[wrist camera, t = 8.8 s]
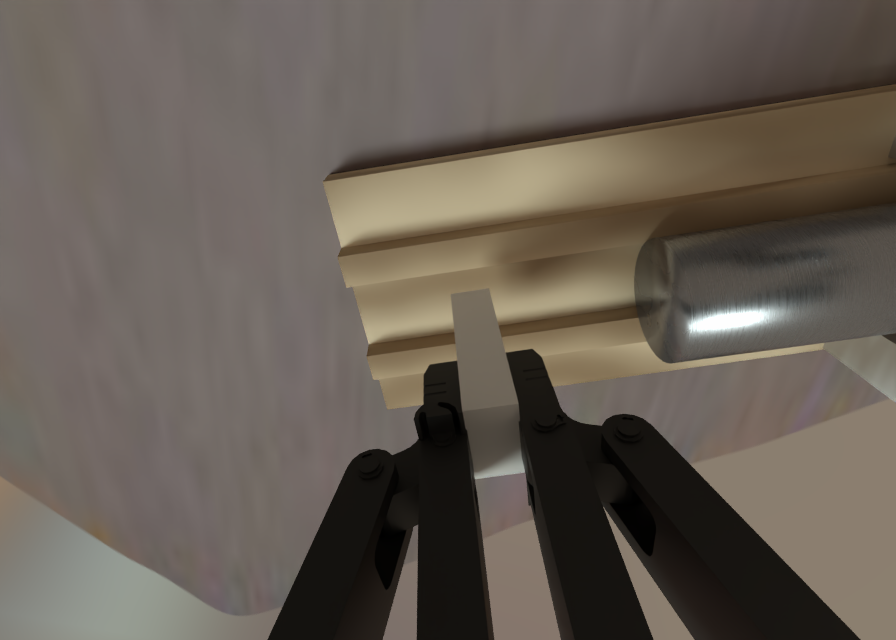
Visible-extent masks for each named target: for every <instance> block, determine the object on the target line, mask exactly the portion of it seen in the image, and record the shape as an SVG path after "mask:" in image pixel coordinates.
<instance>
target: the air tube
mask: <svg viewBox="0 0 896 640" xmlns="http://www.w3.org/2000/svg"><path fill="white" fill-rule="evenodd" d="M634 294H635V303H636V309H637V314H638V318H639V322H640V325H641V328H642V331H643V334H644V336H645V338H646V341H647V343H648V344H649V346H650V348H651V349H652V351H653V352H654V354H655V355H656V356H657V357H658V358H659V359H660V360H662V361H663V362H666V363H670V364H671V363H679V362H686V361H694V360H701V359H708V358H716V357H723V356H731V355H738V354H745V353H753V352H760V351H768V350H775V349H783V348H790V347H797V346H805V345H812V344H820V343H827V342H834V341H842V340H849V339H857V338H864V337H872V336H879V335H886V334H894V333H896V202H895V203H888V204H882V205H875V206H868V207H861V208H854V209H848V210H841V211H834V212H827V213H820V214H814V215H807V216H800V217H793V218H786V219H780V220H773V221H766V222H759V223H752V224H746V225H739V226H732V227H725V228H718V229H711V230H705V231H698V232H691V233H684V234H677V235H671V236H664V237H657V238H651V239H649V240H647V241H646V242H645V243H644V244H643V246H642V247H641V249H640V251H639V254H638V257H637V261H636V266H635V273H634Z"/></svg>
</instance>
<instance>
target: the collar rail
mask: <svg viewBox="0 0 896 640" xmlns="http://www.w3.org/2000/svg"><path fill="white" fill-rule="evenodd" d="M323 184H324V188H325V191H326V195H327V198H328V202H329V205H330V209H331V212H332V216H333V219H334V223H335V226H336V230H337V234H338V237H339V241H340V244H341V251H340V253H339V255H338V260H339V264H340V267H341V271H342V274H343V277H344V281H345V284H346V288H348V287H353V290H354V293H355V297H356V300H357V304H358V307H359V311H360V314H361V318H362V322H363V325H364V329H365V332H366V336H367V339H368V343H369V347H368V352H367V360H368V363H369V366H370V370H371V373H372V377H373V380H377V379H379V381H380V385H381V388H382V392H383V395H384V399H385V402H386V406H387V410H388V409H395V408H402V407H409V406H417V405H423V396H424V395H423V388H424V386H423V383H424V373H425V372H426V370H427V368H428V366H429V365H430V364H436V363H443V362H450V361H457V353H456V343H455V333H454V323H453V313H452V303H451V294H454V293H461V292H467V291H474V290H481V289H487V288H489V290H490V294H491V298H492V302H493V306H494V310H495V314H496V318H497V322H498V325H499V329H500V333H501V337H502V341H503V345H504V349H505V353H506V352H513V351H520V350H527V349H533V350H534V351H536V352H537V353H538V354H539V355H540V356H541V357H542V359H543V361H544V364H545V367H546V370H547V372H548V375H549V378H550V380H551V383H552V386H553V387H555V386H562V385H569V384H576V383H584V382H591V381H598V380H605V379H613V378H620V377H627V376H634V375H642V374H649V373H656V372H663V371H671V370H678V369H685V368H692V367H700V366H707V365H714V364H721V363H729V362H736V361H743V360H750V359H758V358H765V357H772V356H779V355H787V354H794V353H801V352H808V351H816V350H823V349H825V350H826V351H827V352H829V353H830V354H831V355H833V356H834V357H835V358H837V359H838V360H839V361H841V362H842V363H843V364H845V365H846V366H847V367H849V368H850V369H851V370H853V371H854V372H855V373H857V374H858V375H859V376H861V377H862V378H863V379H865V380H866V381H867V382H869V383H870V384H871V385H873V386H874V387H875V388H877V389H878V390H879V391H881V392H882V393H883V394H885V395H886V396H887V397H889V398H890V399H891V400H893V401H894V402H895V403H896V333H894V334H886V335H879V336H872V337H864V338H857V339H849V340H842V341H834V342H827V343H820V344H812V345H805V346H797V347H790V348H783V349H775V350H768V351H760V352H753V353H745V354H738V355H731V356H723V357H716V358H708V359H701V360H694V361H686V362H679V363H671V364H670V363H666V362H663V361H662V360H660V359H659V358H658V357H657V356H656V355H655V354H654V352H653V351H652V349H651V348H650V346H649V344H648V343H647V341H646V338H645V336H644V334H643V331H642V328H641V325H640V322H639V318H638V314H637V309H636V303H635V294H634V273H635V266H636V261H637V257H638V254H639V251H640V249H641V247H642V246H643V244H644V243H645V242H646V241H647V240H649V239H651V238H657V237H664V236H671V235H677V234H684V233H691V232H698V231H705V230H711V229H718V228H725V227H732V226H739V225H746V224H752V223H759V222H766V221H773V220H780V219H786V218H793V217H800V216H807V215H814V214H820V213H827V212H834V211H841V210H848V209H854V208H861V207H868V206H875V205H882V204H888V203H895V202H896V84H893V85H887V86H880V87H874V88H868V89H862V90H855V91H849V92H843V93H837V94H830V95H824V96H818V97H812V98H805V99H799V100H793V101H787V102H780V103H774V104H768V105H762V106H755V107H749V108H743V109H737V110H730V111H724V112H718V113H712V114H705V115H699V116H693V117H687V118H680V119H674V120H668V121H662V122H655V123H649V124H643V125H637V126H630V127H624V128H618V129H612V130H605V131H599V132H593V133H587V134H580V135H574V136H568V137H562V138H555V139H549V140H543V141H537V142H530V143H524V144H518V145H512V146H505V147H499V148H493V149H487V150H480V151H474V152H468V153H462V154H455V155H449V156H443V157H437V158H430V159H424V160H418V161H412V162H405V163H399V164H393V165H387V166H380V167H374V168H368V169H362V170H355V171H349V172H343V173H337V174H330V175H328V176H327V177H326V179H325V180H324V181H323Z"/></svg>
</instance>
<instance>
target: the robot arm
mask: <svg viewBox="0 0 896 640" xmlns="http://www.w3.org/2000/svg"><path fill="white" fill-rule="evenodd" d="M451 303H452V313H453V323H454V333H455V343H456V353H457V361H450V362H443V363H436V364H430V365H429V366H428V368H427V370H426V372H425V373H424V383H423V386H424V388H423V395H424V396H423V405H422V406H421V407H420V408H419V409H418V411H417V412H416V414H415V417H414V422H415V426H416V430H417V433H418V437H419V439H418V440H417V442H416V443H415V444H413V445H412V446H411V447H410V448H408V449H406V450H404V451H402V452H399V453H397V454H394V455H391V454H390V453H389V452H387V451H385V450H381V449H373V450H368V451H365V452H363V453H360V454H359V455H358V456H357V457H355V458H354V459H353V460H352V461H351V463H350V464H349V465H348V467H347V469H346V471H345V473H344V476H343V478H342V480H341V482H340V484H339V486H338V489H337V491H336V493H335V495H334V497H333V499H332V502H331V504H330V506H329V508H328V510H327V512H326V515H325V517H324V519H323V521H322V523H321V525H320V527H319V530H318V532H317V534H316V536H315V538H314V540H313V543H312V545H311V547H310V549H309V551H308V553H307V556H306V558H305V560H304V562H303V564H302V566H301V569H300V571H299V573H298V575H297V577H296V579H295V581H294V584H293V586H292V588H291V590H290V592H289V594H288V597H287V599H286V601H285V603H284V605H283V607H282V610H281V612H280V614H279V616H278V618H277V620H276V623H275V625H274V627H273V629H272V631H271V633H270V636H269V638H268V640H383V636H384V632H385V629H386V625H387V621H388V618H389V614H390V610H391V607H392V603H393V599H394V596H395V593H396V589H397V585H398V581H399V578H400V575H401V571H402V567H403V564H404V560H405V557H406V553H407V549H408V546H409V542H410V538H411V535H412V531H413V527H414V526H416V525H418V590H417V592H418V593H417V640H494V633H493V625H492V617H491V608H490V599H489V591H488V582H487V574H486V565H485V557H484V548H483V539H482V531H481V522H480V514H479V505H478V497H477V491H476V485H475V479H479V478H487V477H494V476H502V475H509V474H517V473H524V472H525V473H526V480H527V491H528V503H529V505H531V508H532V512H533V516H534V521H535V525H536V530H537V534H538V538H539V543H540V547H541V552H542V556H543V561H544V565H545V570H546V574H547V579H548V583H549V588H550V592H551V597H552V601H553V606H554V610H555V615H556V619H557V623H558V628H559V632H560V637H561V640H653V637H652V635H651V632H650V629H649V627H648V624H647V621H646V619H645V616H644V614H643V611H642V608H641V606H640V603H639V600H638V598H637V595H636V592H635V590H634V587H633V585H632V582H631V580H630V577H629V574H628V571H627V569H626V566H625V563H624V561H623V558H622V556H621V553H620V550H619V548H618V545H617V542H616V540H615V537H614V534H613V532H612V529H611V526H610V524H609V521H608V519H607V516H606V513H605V511H604V508H605V510H606V511H607V512H608V514H609V515H610V517H611V518H612V520H613V521H614V523H615V524H616V526H617V527H618V529H619V530H620V531H621V533H622V534H623V536H624V537H625V539H626V540H627V542H628V543H629V545H630V546H631V547H632V549H633V550H634V552H635V553H636V554H637V556H638V558H639V559H640V560H641V562H642V563H643V565H644V566H645V568H646V569H647V571H648V572H649V574H650V575H651V577H652V578H653V579H654V581H655V582H656V584H657V585H658V587H659V588H660V590H661V591H662V593H663V594H664V596H665V597H666V598H667V600H668V601H669V603H670V604H671V606H672V607H673V609H674V610H675V612H676V613H677V615H678V616H679V618H680V619H681V620H682V622H683V623H684V625H685V626H686V628H687V629H688V631H689V632H690V634H691V635H692V636H693V638H694V639H695V640H860V639H859V638H858V637H857V636H856V635H855V633H854V632H852V630H851V629H850V628H849V627H848V626H847V625H846V624H845V623H844V622H843V621H842V620H841V619H840V618H839V617H838V616H837V615H836V614H835V613H834V612H833V611H832V610H831V609H830V608H829V607H828V606H827V605H826V604H825V603H824V602H823V601H822V600H821V599H820V598H819V597H818V596H817V594H816V593H815V592H814V591H813V590H811V588H810V587H809V586H808V585H807V584H806V583H805V582H804V581H803V580H802V579H801V578H800V577H799V576H798V575H797V574H796V573H795V572H794V571H793V570H792V569H791V568H790V567H789V566H788V565H787V564H786V563H785V562H784V561H783V560H782V559H781V558H780V557H779V555H778V554H777V553H775V551H773V549H772V548H771V547H770V546H769V545H768V544H767V543H766V542H765V541H764V540H763V539H762V538H761V537H760V536H759V535H758V534H757V533H756V532H755V531H754V530H753V529H752V528H751V527H750V526H749V525H748V524H747V523H746V522H745V521H744V520H743V519H742V517H740V516H739V514H738V513H737V512H736V511H735V510H734V509H733V508H732V507H731V506H730V505H729V504H728V503H727V502H726V501H725V500H724V499H723V498H722V497H721V496H720V495H719V494H718V493H717V492H716V491H715V490H714V489H713V488H712V487H711V486H710V485H709V484H708V483H707V482H706V481H705V480H704V479H703V477H702V476H701V475H700V474H699V473H698V472H697V471H696V470H695V469H694V468H693V467H692V466H691V465H690V464H689V463H688V462H687V461H686V460H685V459H684V458H683V457H682V456H681V455H680V454H679V453H678V452H677V451H676V450H675V449H674V448H673V447H672V446H671V445H670V444H669V443H668V442H667V440H666V439H665V438H664V437H663V436H662V435H661V434H660V433H659V432H658V431H657V430H656V429H655V428H654V427H653V426H652V425H651V424H650V423H648V422H647V421H646V420H644V419H643V418H640V417H637V416H635V415H629V414H619V415H614V416H612V417H610V418H608V419H606V421H605V422H604V423H603V425H602V426H598V425H589V424H584V423H580V422H577V421H574V420H572V419H571V418H569V417H568V416H567V415H566V413H564V412H563V411H562V409H561V407H560V405H559V402H558V399H557V397H556V394H555V391H554V389H553V386H552V383H551V380H550V378H549V375H548V372H547V370H546V367H545V364H544V361H543V359H542V357H541V356H540V355H539V354H538V353H537V352H536V351H534V350H533V349H527V350H520V351H513V352H506V353H505V349H504V345H503V341H502V337H501V333H500V329H499V325H498V322H497V318H496V314H495V310H494V306H493V302H492V298H491V294H490V290H489V288H487V289H481V290H474V291H467V292H461V293H454V294H451ZM524 469H525V471H524ZM603 507H604V508H603Z"/></svg>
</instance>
